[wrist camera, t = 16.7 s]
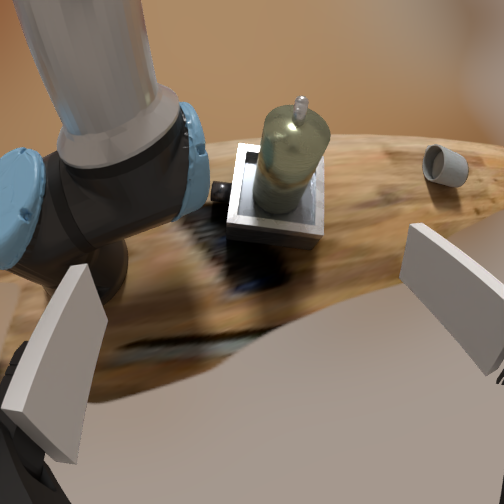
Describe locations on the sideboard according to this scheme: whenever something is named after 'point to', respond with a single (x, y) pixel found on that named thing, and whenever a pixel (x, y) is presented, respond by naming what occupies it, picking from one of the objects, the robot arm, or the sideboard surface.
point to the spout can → (288, 155)
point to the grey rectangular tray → (263, 222)
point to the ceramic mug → (445, 166)
